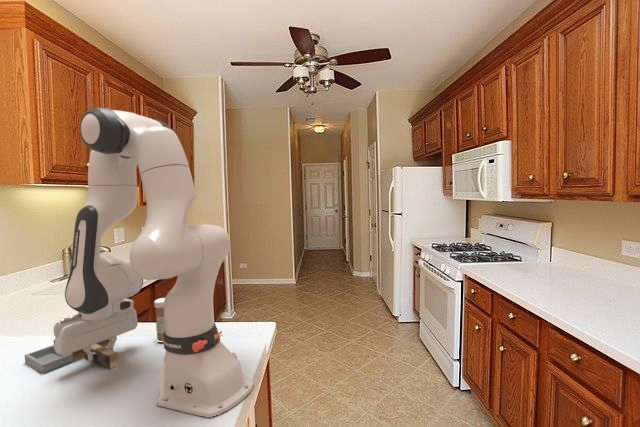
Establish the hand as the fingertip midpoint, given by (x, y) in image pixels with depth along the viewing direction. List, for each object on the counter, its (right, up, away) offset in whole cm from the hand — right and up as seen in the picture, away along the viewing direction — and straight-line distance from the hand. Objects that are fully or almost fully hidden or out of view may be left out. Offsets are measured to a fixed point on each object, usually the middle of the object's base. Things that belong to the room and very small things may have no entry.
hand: (101, 356), depth 94 cm
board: (-10, -1, +8) cm, 13 cm away
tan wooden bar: (0, -2, 0) cm, 2 cm away
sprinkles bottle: (+12, -1, +13) cm, 18 cm away
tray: (-15, -2, 0) cm, 15 cm away
